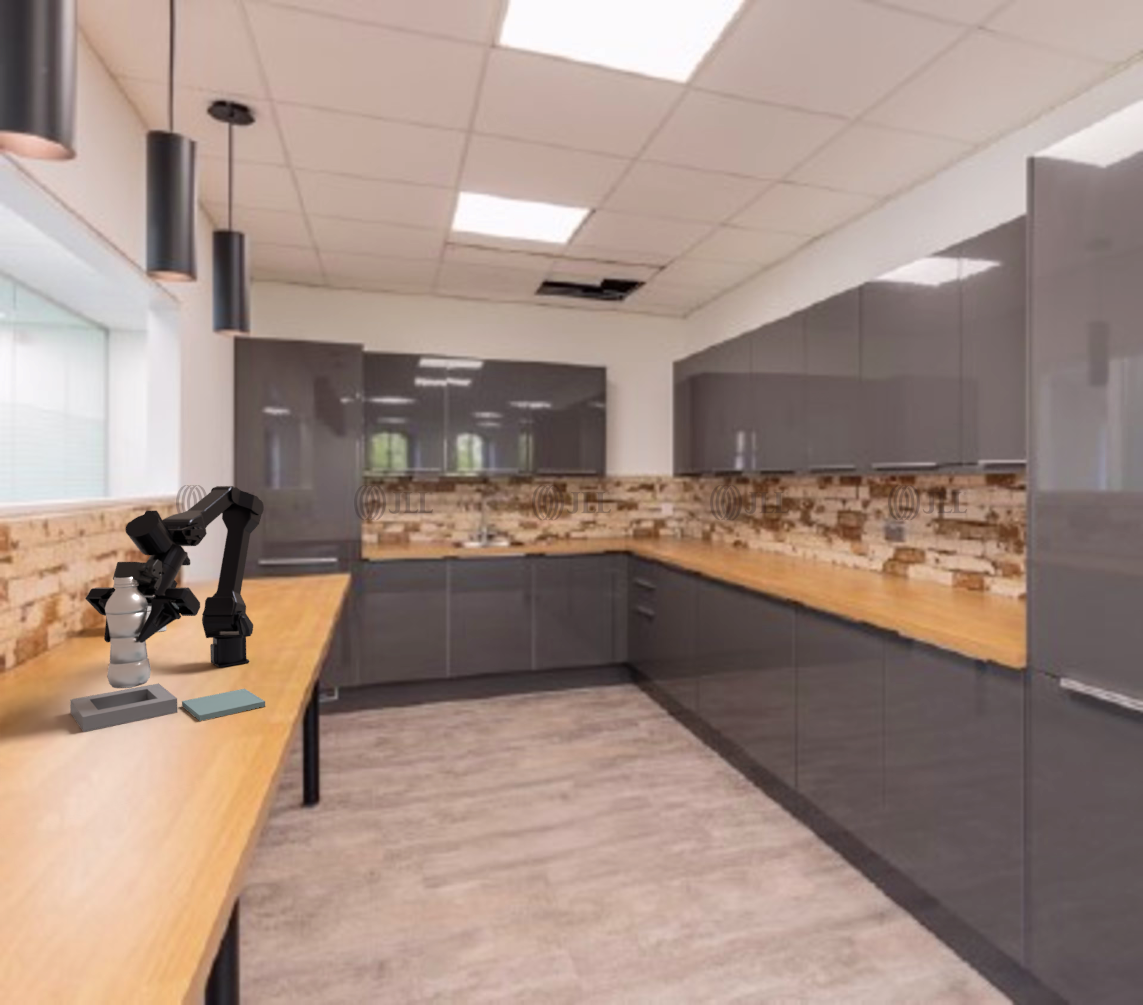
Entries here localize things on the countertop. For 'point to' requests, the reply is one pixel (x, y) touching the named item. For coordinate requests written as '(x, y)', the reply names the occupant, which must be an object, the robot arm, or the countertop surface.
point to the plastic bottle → (127, 635)
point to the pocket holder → (122, 706)
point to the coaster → (222, 704)
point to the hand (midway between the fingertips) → (123, 641)
